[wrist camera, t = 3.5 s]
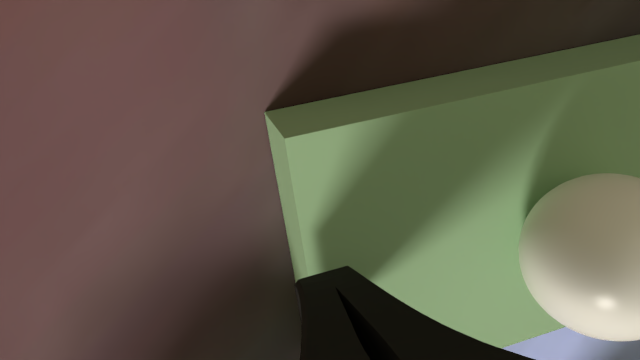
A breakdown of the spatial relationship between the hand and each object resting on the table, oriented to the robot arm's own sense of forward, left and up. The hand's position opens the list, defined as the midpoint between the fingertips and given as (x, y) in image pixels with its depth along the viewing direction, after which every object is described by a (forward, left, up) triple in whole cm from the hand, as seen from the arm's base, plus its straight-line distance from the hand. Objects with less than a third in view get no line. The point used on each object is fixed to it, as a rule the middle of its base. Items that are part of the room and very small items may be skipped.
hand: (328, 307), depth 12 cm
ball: (0, -7, +1) cm, 7 cm away
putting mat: (0, -10, -3) cm, 10 cm away
